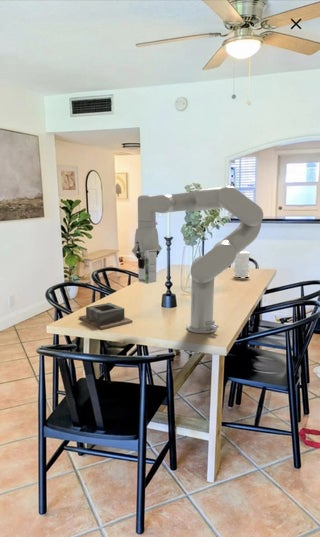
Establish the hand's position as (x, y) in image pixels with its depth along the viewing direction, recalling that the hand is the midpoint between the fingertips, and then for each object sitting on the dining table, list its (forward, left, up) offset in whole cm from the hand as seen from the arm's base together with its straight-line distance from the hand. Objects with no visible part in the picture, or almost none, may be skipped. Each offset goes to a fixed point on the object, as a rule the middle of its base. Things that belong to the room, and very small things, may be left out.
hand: (147, 266), depth 166 cm
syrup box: (0, 0, -7) cm, 7 cm away
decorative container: (+44, -121, -27) cm, 131 cm away
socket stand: (+18, +10, -26) cm, 34 cm away
